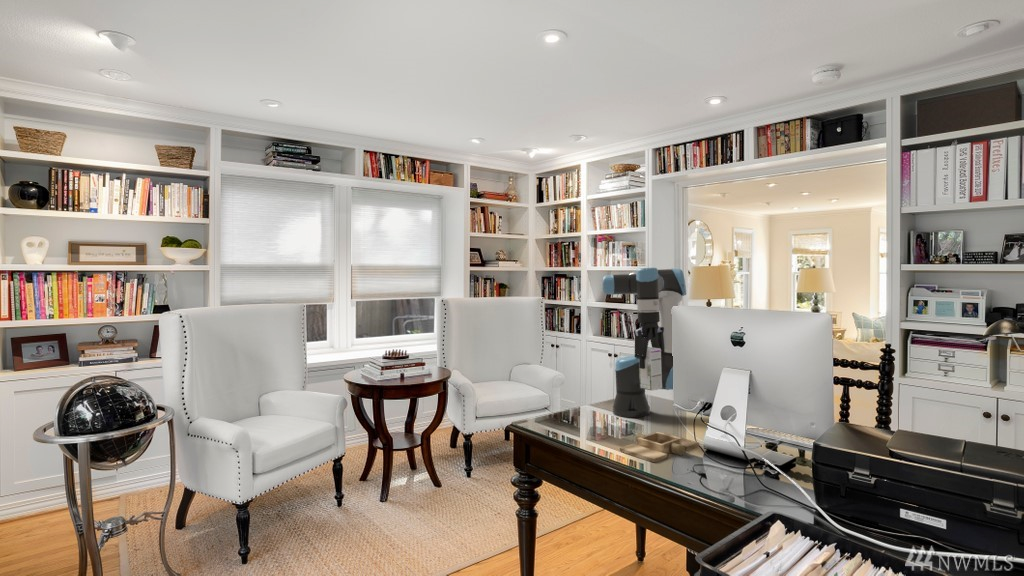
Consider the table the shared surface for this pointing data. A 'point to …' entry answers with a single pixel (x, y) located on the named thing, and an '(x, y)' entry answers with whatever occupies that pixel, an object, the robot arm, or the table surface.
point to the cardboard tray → (658, 446)
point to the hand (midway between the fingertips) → (650, 376)
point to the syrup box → (652, 370)
